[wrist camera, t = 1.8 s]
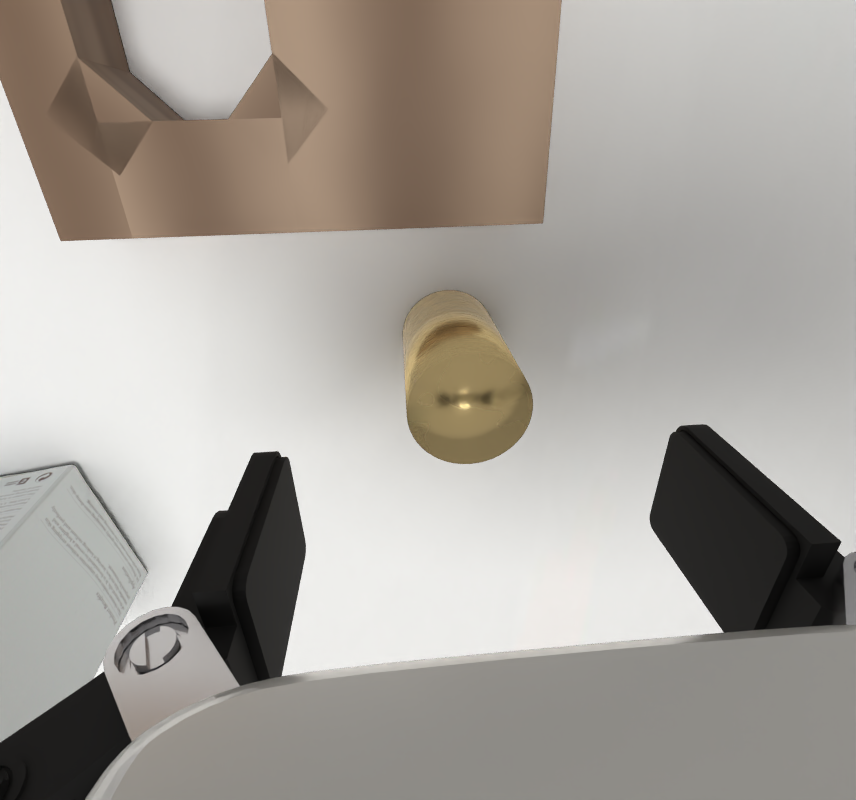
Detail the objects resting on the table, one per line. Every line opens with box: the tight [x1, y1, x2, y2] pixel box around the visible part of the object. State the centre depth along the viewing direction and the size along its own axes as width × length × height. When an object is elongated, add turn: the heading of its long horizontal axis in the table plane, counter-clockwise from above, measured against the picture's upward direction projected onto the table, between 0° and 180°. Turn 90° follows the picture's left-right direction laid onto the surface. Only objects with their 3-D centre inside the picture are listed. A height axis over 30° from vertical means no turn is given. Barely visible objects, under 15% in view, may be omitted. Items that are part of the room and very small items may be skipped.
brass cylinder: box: [403, 290, 533, 464], centre depth 18 cm, size 4×4×7 cm
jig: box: [0, 0, 562, 241], centre depth 14 cm, size 16×12×3 cm
